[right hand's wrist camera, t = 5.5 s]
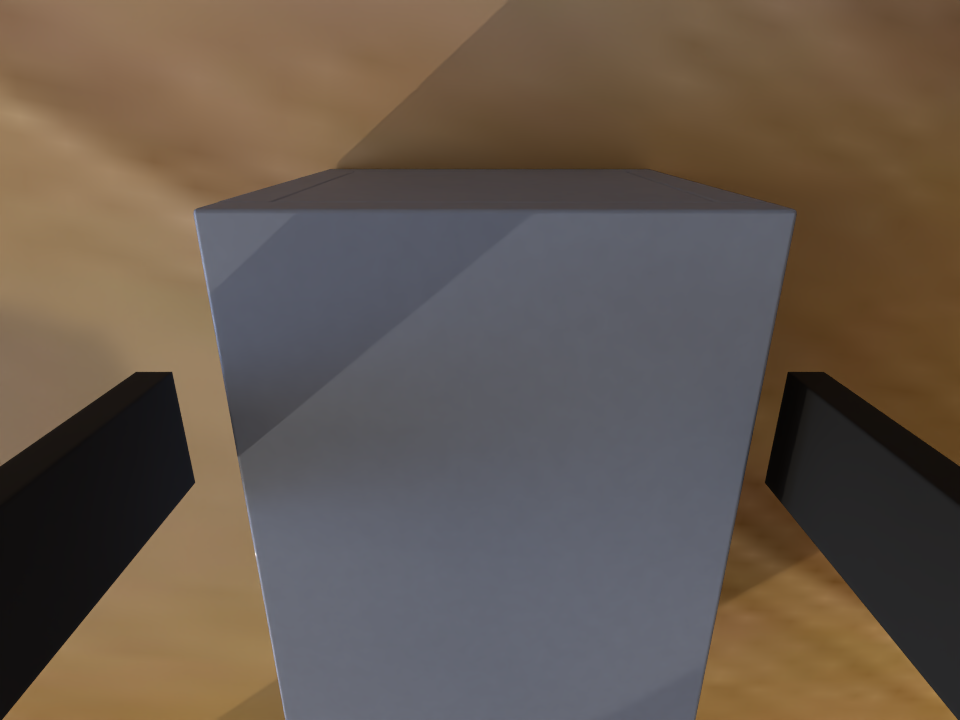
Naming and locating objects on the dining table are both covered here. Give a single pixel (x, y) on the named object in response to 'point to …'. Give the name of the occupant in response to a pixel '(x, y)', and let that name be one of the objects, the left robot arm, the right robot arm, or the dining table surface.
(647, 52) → the dining table surface
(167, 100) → the dining table surface
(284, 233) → the cabinet
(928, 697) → the dining table surface
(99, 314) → the dining table surface
